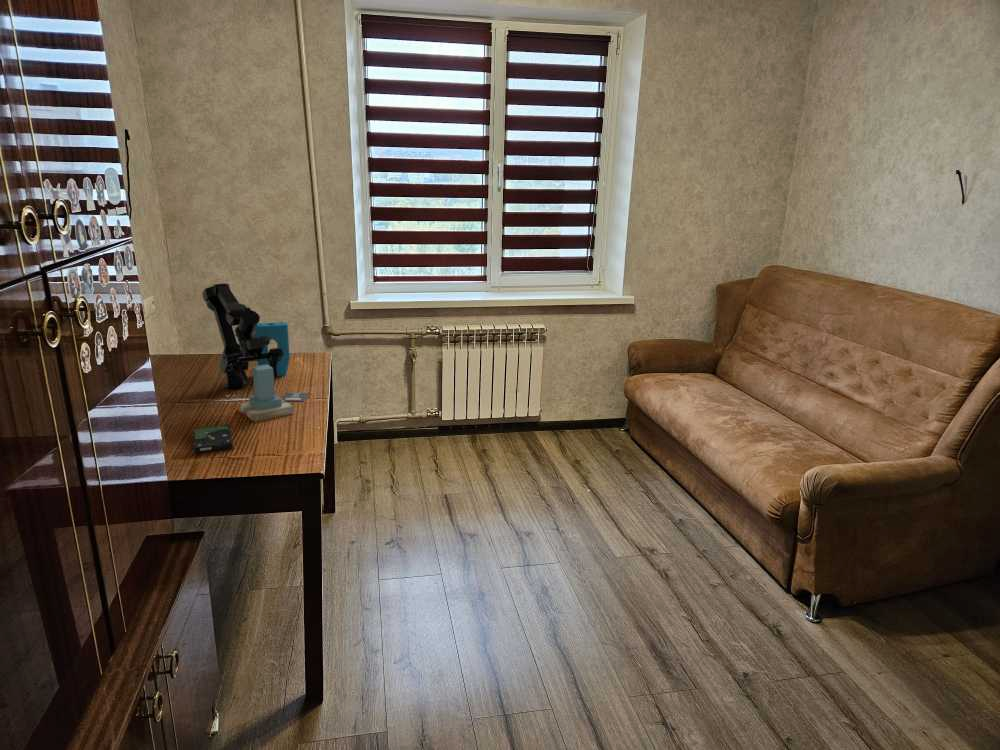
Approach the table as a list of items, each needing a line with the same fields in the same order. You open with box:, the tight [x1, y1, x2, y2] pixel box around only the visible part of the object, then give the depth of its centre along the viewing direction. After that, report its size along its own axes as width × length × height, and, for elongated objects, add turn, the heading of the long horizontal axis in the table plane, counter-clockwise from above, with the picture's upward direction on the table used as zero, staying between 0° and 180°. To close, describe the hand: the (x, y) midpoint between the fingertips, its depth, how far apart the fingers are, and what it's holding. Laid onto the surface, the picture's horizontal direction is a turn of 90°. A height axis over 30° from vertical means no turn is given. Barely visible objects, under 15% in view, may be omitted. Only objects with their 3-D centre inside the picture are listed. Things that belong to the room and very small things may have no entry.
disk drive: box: [192, 424, 234, 455], centre depth 195 cm, size 10×3×15 cm
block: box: [254, 321, 291, 377], centre depth 255 cm, size 12×5×20 cm, turn 109°
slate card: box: [281, 392, 310, 403], centre depth 234 cm, size 8×8×1 cm
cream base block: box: [238, 398, 295, 423], centre depth 220 cm, size 13×13×3 cm
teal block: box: [248, 364, 282, 411], centre depth 218 cm, size 8×8×13 cm
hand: (261, 380), depth 219 cm, fingers open, 9 cm apart
